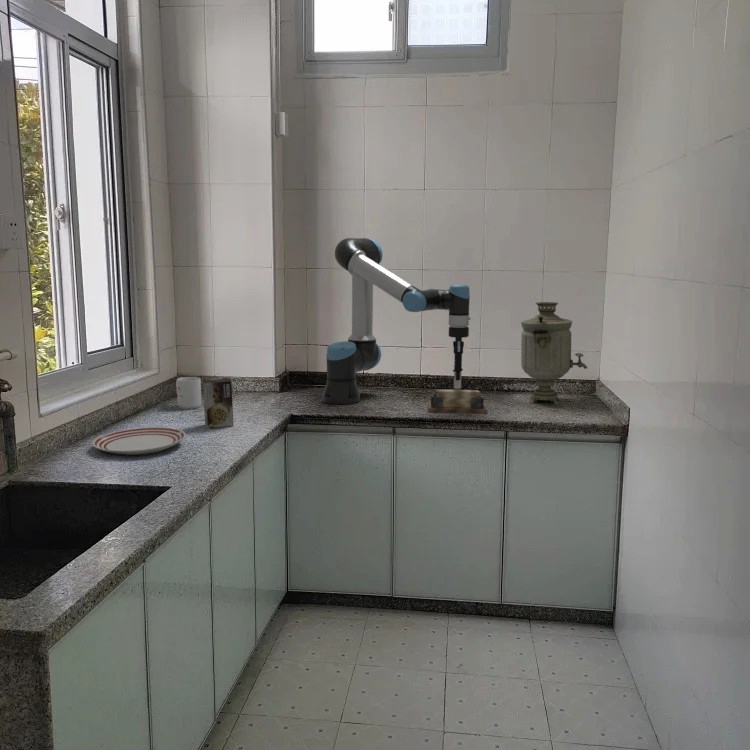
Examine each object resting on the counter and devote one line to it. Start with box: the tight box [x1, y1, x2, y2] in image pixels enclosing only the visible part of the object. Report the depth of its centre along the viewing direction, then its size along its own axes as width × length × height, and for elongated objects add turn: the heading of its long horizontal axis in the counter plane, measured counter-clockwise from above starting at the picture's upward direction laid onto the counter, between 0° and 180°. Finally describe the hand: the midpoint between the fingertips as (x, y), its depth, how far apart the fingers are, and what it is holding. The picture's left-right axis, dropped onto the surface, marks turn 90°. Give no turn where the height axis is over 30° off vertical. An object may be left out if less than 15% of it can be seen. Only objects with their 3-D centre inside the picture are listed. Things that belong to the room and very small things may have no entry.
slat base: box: [427, 393, 488, 415], centre depth 274 cm, size 22×10×6 cm, turn 85°
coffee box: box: [202, 377, 234, 429], centre depth 247 cm, size 9×6×16 cm
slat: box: [436, 389, 480, 407], centre depth 273 cm, size 16×4×6 cm, turn 86°
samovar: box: [520, 301, 588, 406], centre depth 285 cm, size 30×26×40 cm
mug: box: [175, 376, 202, 410], centre depth 277 cm, size 12×9×11 cm
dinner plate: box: [91, 426, 187, 456], centre depth 221 cm, size 27×27×3 cm
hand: (457, 388), depth 273 cm, fingers closed
